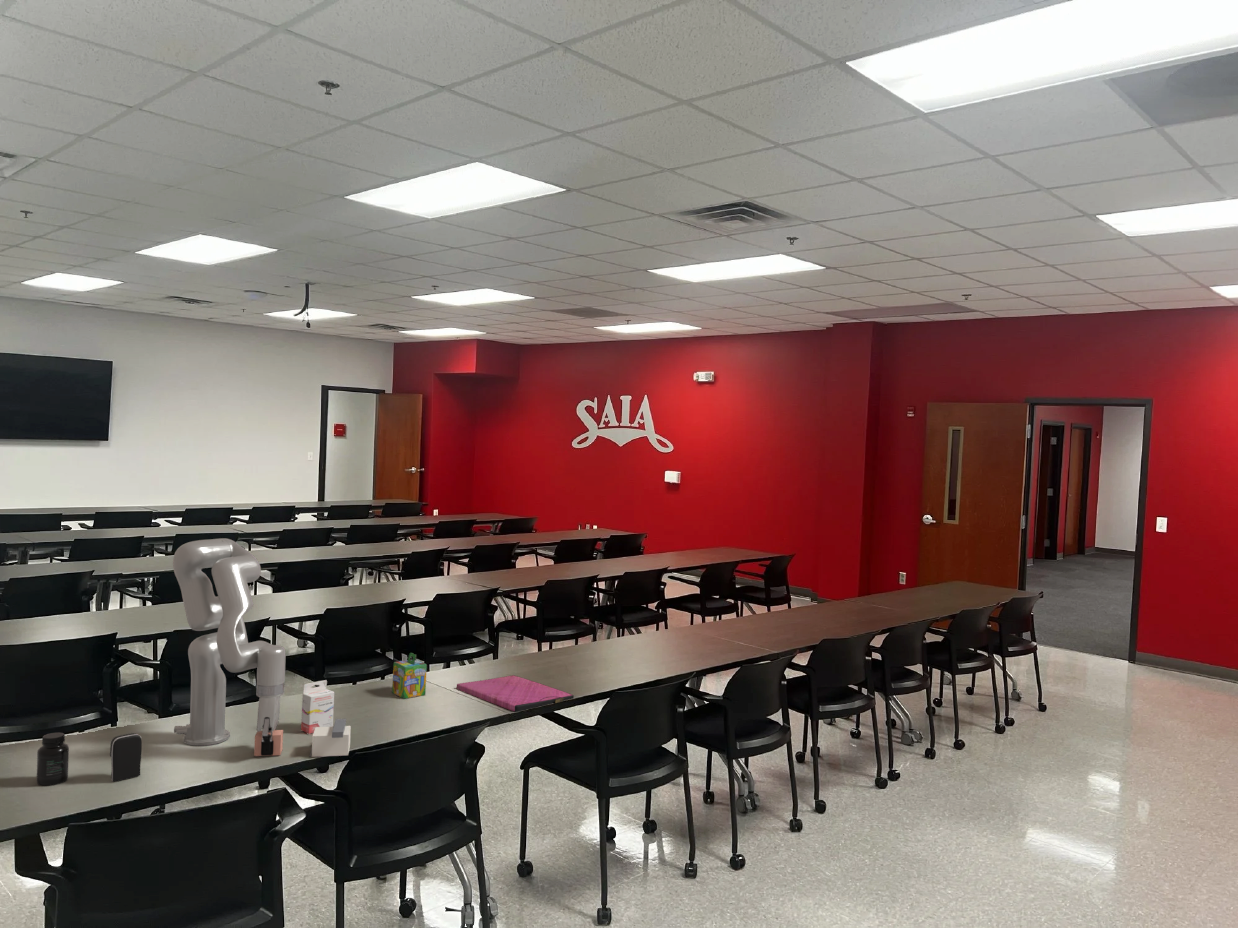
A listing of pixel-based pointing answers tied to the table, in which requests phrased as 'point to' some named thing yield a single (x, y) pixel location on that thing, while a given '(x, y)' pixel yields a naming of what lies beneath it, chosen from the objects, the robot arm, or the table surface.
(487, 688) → the laptop bag
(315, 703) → the ink cartridge box
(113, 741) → the black rounded block
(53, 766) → the supplement bottle
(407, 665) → the chalk box
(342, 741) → the block
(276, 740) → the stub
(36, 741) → the table surface
